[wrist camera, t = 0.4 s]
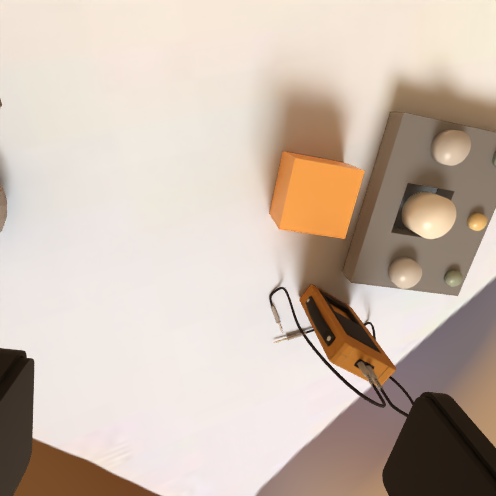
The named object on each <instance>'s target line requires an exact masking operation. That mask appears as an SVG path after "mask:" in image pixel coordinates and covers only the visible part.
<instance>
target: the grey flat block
mask: <svg viewBox="0 0 496 496" xmlns="http://www.w3.org/2000/svg"><path fill="white" fill-rule="evenodd" d="M408 183H412V184H417V185H423V186H428V187H434V188H438V190H437V193H436V194H437V195H439V196H442V197H444V198H447V199H449V200H451V201H452V202H453V204H454V205H455V208H456V220H455V222H454V224H453V226H452V228H451V229H450V230H449V231H448V232H447V233H446V234H444V235H443V236H441V237H439V238H436V239H426V238H423V237H422V236H420V235H418V234H417V233H415V232H413V231H412V230H408V229H401V228H395V227H393V225H394V222H395V219H396V216H397V213H398V210H399V208H400V205H401V202H402V199H403V196H404V193H405V190H406V187H407V184H408ZM495 208H496V132H492V131H488V130H483V129H478V128H474V127H469V126H465V125H460V124H455V123H451V122H446V121H442V120H437V119H432V118H428V117H423V116H418V115H414V114H409V113H405V112H390V116H389V119H388V122H387V125H386V129H385V132H384V135H383V139H382V142H381V145H380V149H379V152H378V155H377V159H376V162H375V165H374V169H373V172H372V175H371V179H370V182H369V185H368V189H367V192H366V195H365V199H364V202H363V205H362V209H361V212H360V215H359V219H358V222H357V225H356V229H355V232H354V235H353V239H352V242H351V245H350V248H349V252H348V255H347V258H346V262H345V265H344V268H343V272H342V273H343V274H344V275H345V276H346V277H347V278H348V280H349V281H350V282H351V283H358V284H366V285H374V286H382V287H390V288H398V289H406V290H414V291H422V292H430V293H438V294H446V295H454V296H458V294H459V292H460V290H461V287H462V285H463V283H464V280H465V278H466V276H467V273H468V271H469V269H470V266H471V264H472V262H473V259H474V257H475V255H476V252H477V250H478V248H479V245H480V243H481V241H482V238H483V236H484V234H485V231H486V229H487V227H488V224H489V222H490V220H491V217H492V215H493V213H494V210H495Z"/></svg>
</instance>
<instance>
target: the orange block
mask: <svg viewBox="0 0 496 496" xmlns="http://www.w3.org/2000/svg"><path fill="white" fill-rule="evenodd" d="M364 172H365V171H364V170H362V169H359V168H357V167H354V166H352V165H349V164H347V163H344V162H339V161H334V160H328V159H323V158H317V157H312V156H306V155H301V154H296V153H290V152H285V151H283V152H282V157H281V162H280V167H279V171H278V176H277V181H276V185H275V190H274V195H273V199H272V204H271V209H270V213H269V214H270V215H271V217H272V219H273V220H274V222H275V223H276V225H277V227H278V228H279V229H281V230H287V231H294V232H301V233H308V234H315V235H321V236H328V237H335V238H342V239H345V237H346V234H347V230H348V227H349V223H350V220H351V217H352V213H353V210H354V206H355V203H356V200H357V196H358V193H359V189H360V186H361V182H362V179H363V176H364Z"/></svg>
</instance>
